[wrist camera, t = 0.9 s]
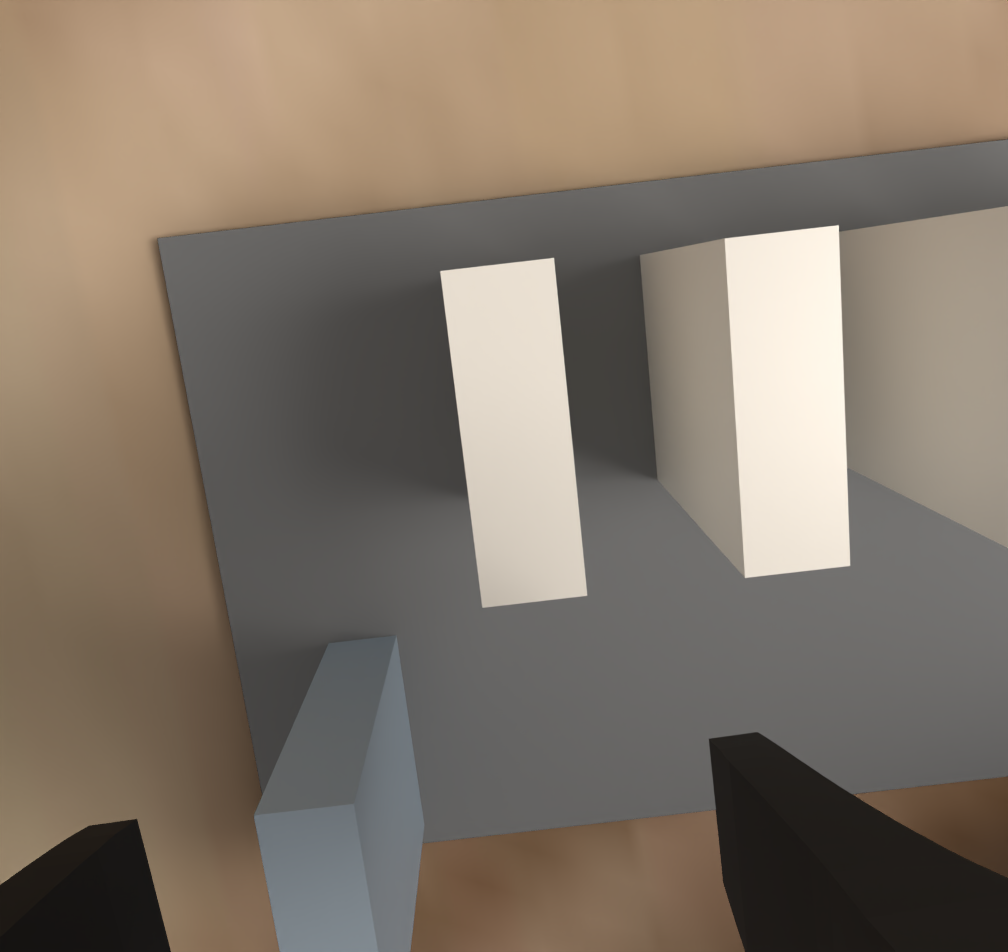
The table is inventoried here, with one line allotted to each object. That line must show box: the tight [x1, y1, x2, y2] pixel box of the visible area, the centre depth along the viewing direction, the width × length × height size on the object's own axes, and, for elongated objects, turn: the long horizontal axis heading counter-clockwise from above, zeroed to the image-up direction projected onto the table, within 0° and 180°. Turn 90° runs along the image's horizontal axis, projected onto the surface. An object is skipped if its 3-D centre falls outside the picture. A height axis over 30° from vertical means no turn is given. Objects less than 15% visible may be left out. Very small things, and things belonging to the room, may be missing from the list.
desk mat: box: [157, 139, 1008, 843], centre depth 21 cm, size 22×15×1 cm
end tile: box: [254, 635, 424, 952], centre depth 18 cm, size 2×5×7 cm, turn 6°
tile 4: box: [440, 258, 587, 608], centre depth 16 cm, size 2×5×7 cm, turn 6°
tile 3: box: [640, 225, 850, 578], centre depth 16 cm, size 2×5×7 cm, turn 6°
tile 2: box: [839, 206, 1008, 548], centre depth 16 cm, size 2×5×7 cm, turn 7°
